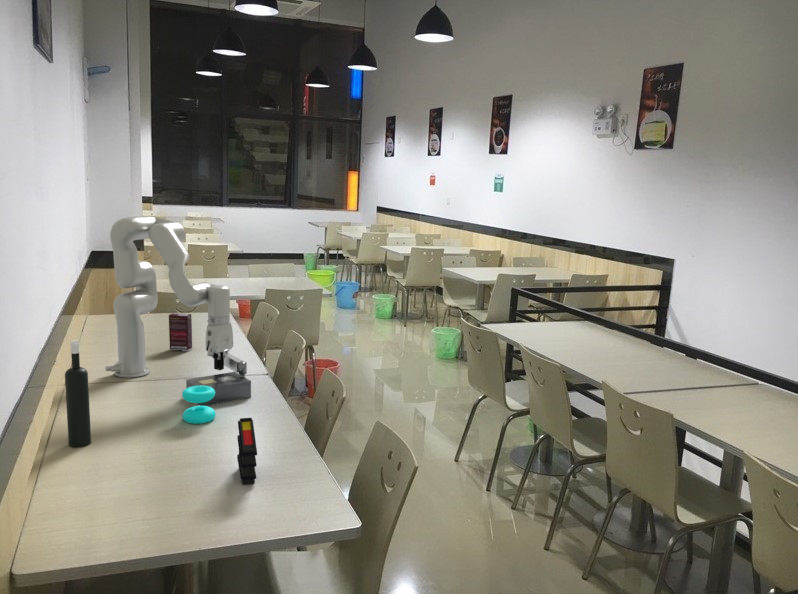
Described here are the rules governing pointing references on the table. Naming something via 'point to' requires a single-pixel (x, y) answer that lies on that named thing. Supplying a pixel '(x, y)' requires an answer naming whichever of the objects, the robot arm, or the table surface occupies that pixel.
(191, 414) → the donuts
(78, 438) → the wine bottle
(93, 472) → the table surface
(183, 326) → the supplement box
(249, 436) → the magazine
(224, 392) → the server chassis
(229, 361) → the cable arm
